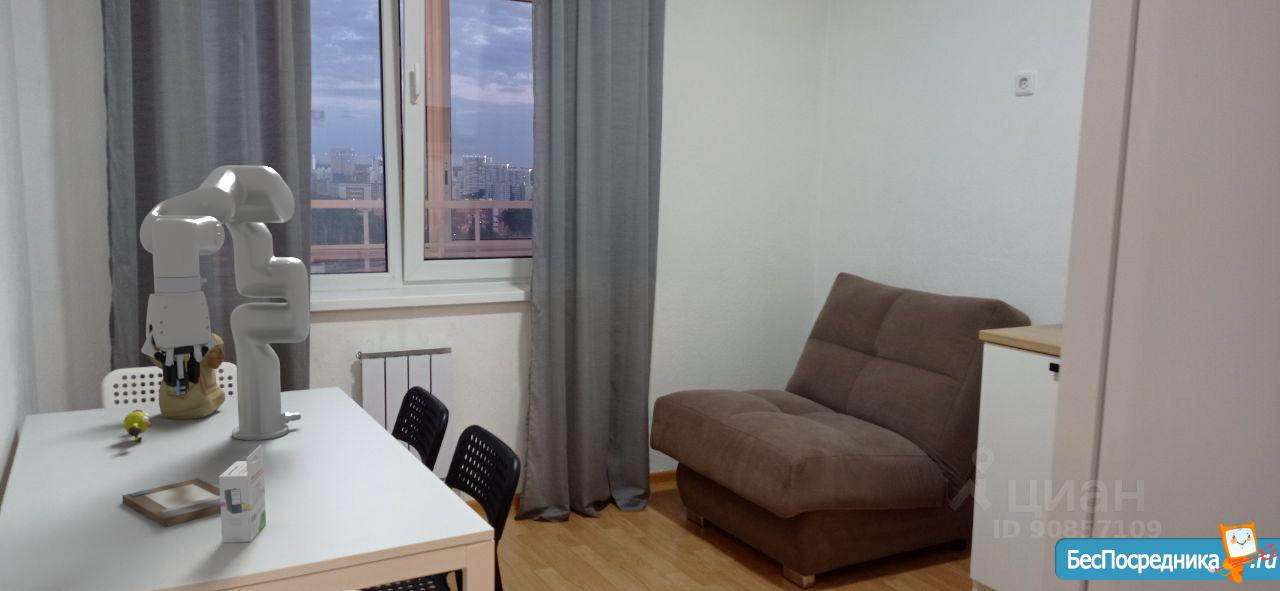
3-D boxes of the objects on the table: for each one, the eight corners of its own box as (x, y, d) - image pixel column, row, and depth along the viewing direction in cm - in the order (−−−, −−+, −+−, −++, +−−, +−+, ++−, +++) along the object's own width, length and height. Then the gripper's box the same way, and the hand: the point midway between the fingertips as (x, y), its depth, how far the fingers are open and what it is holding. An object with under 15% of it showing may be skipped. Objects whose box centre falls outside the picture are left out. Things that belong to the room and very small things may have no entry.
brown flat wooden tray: (198, 485, 184) (197, 472, 184) (241, 506, 173) (241, 492, 173) (122, 503, 174) (122, 489, 174) (164, 527, 162) (163, 512, 162)
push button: (198, 395, 170) (196, 341, 169) (166, 398, 167) (163, 343, 166) (195, 387, 176) (192, 335, 175) (163, 390, 173) (160, 338, 172)
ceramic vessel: (212, 422, 231) (208, 324, 228) (134, 421, 232) (129, 322, 229) (242, 406, 248) (238, 314, 245) (169, 405, 248) (165, 313, 245)
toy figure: (150, 449, 208) (148, 419, 208) (122, 451, 206) (120, 422, 205) (152, 429, 224) (151, 402, 224) (126, 431, 222) (125, 404, 221)
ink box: (238, 524, 164) (234, 443, 162) (266, 524, 164) (264, 443, 163) (220, 543, 155) (216, 458, 154) (250, 543, 156) (247, 458, 154)
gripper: (212, 280, 178) (216, 374, 180) (120, 287, 165) (126, 388, 168) (231, 284, 173) (235, 380, 175) (138, 291, 161) (144, 394, 163)
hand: (182, 383), depth 171 cm, fingers closed on push button, 3 cm apart
